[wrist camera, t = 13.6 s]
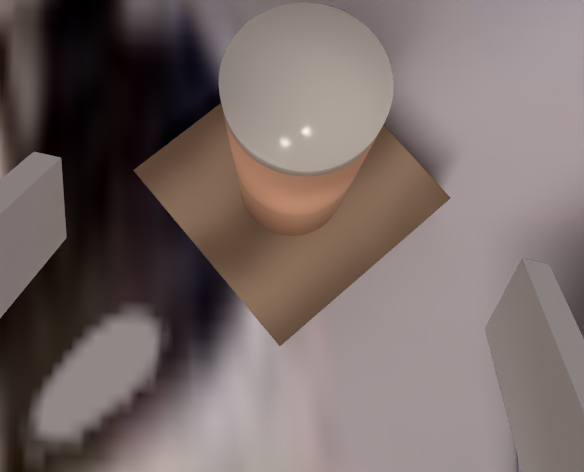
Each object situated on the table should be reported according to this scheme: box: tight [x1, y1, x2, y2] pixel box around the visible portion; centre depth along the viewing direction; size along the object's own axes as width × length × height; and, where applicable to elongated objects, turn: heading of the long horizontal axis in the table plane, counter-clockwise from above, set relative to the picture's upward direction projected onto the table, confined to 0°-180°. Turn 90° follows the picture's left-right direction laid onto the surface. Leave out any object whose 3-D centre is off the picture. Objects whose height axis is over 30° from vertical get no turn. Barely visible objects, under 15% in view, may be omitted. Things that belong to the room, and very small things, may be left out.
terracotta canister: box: [219, 2, 394, 236], centre depth 25 cm, size 6×6×13 cm
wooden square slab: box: [134, 104, 450, 346], centre depth 33 cm, size 13×13×3 cm
